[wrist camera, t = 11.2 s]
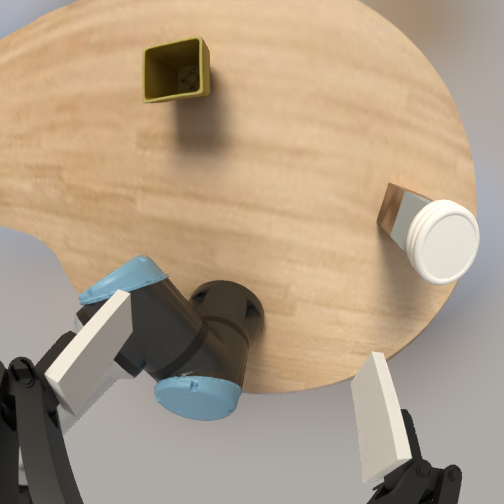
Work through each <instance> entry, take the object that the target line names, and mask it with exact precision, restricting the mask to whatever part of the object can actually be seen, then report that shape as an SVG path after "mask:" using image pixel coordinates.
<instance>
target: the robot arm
mask: <svg viewBox="0 0 504 504" xmlns="http://www.w3.org/2000/svg"><path fill="white" fill-rule="evenodd" d="M168 277H169V276H168V275H167V274H164V273H163V272H162V270H161V269H160V268H159V267H158V266H157V265H156V264H155V262H154V261H153V260H152V259H151V258H149V257H148V256H144V255H140V256H136V257H134V258H133V259H131V260H130V261H128V262H126V263H125V264H123V265H122V266H120V267H119V268H117V269H116V270H114V271H113V272H111V273H110V274H108V275H107V276H106V277H104V278H103V279H101V280H100V281H98V282H97V283H96V284H94V285H93V286H91V287H90V288H89V289H87V290H86V291H84V292H83V293H81V294H80V295H79V300H80V303H81V305H84V306H83V307H82V308H81V309H80V310H79V311H78V312H77V313H76V314H75V319H74V325H75V327H74V332H72V331H69V332H67V333H65V334H64V335H62V336H61V337H60V338H59V339H58V340H57V341H56V343H55V344H54V345H53V346H52V347H51V349H49V350H48V352H47V353H46V354H45V355H44V356H43V358H42V359H41V360H40V361H39V362H38V363H37V364H36V366H35V367H34V365H33V363H32V362H31V360H30V359H28V358H26V357H18V358H15V359H14V360H12V361H11V363H10V364H9V367H8V369H6V368H5V367H4V365H3V363H2V362H1V361H0V504H84V503H83V501H82V498H81V496H80V493H79V490H78V487H77V484H76V482H75V479H74V475H73V473H72V469H71V466H70V463H69V459H68V455H67V451H66V447H65V444H64V439H63V435H64V434H65V433H66V432H67V431H68V430H69V429H70V428H71V427H72V426H73V425H74V424H75V423H76V422H77V421H78V420H79V419H80V418H81V417H82V416H83V414H85V412H86V411H87V410H88V409H89V408H90V407H91V406H92V405H93V404H94V403H95V402H96V401H97V400H98V399H99V398H100V397H101V396H102V395H103V394H104V393H105V392H106V391H107V390H108V389H109V388H110V387H111V386H112V385H113V383H114V382H115V381H116V380H117V379H134V378H135V377H136V376H137V375H138V374H139V373H140V372H141V371H142V370H145V371H146V372H147V373H148V374H150V376H152V377H153V378H154V379H155V380H156V381H157V384H156V385H155V393H154V394H155V396H156V399H157V401H158V402H159V403H160V404H161V405H162V406H163V407H164V408H166V409H167V410H169V411H171V412H173V413H175V414H177V415H180V416H182V417H185V418H190V419H195V420H204V421H210V420H218V419H222V418H225V417H227V416H229V415H230V414H231V413H232V412H233V411H234V410H235V408H236V406H237V402H238V399H239V396H240V395H241V393H242V385H243V379H244V373H245V368H246V362H247V356H248V350H249V348H250V347H251V345H252V344H253V343H254V341H255V340H256V339H257V337H258V336H259V334H260V332H261V330H262V327H263V320H264V312H263V308H262V305H261V303H260V301H259V300H258V298H257V297H256V296H255V295H254V294H253V293H252V292H251V291H250V290H248V289H247V288H245V287H244V286H242V285H240V284H237V283H234V282H230V281H223V280H218V281H211V282H207V283H205V284H203V285H201V286H199V287H198V288H197V289H196V290H195V291H194V292H193V294H192V295H191V297H190V299H189V301H187V300H186V299H185V298H184V296H183V295H182V294H181V293H180V292H179V290H178V289H177V288H176V287H175V286H174V284H173V283H172V282H171V281H170V280H169V278H168ZM350 384H351V390H352V395H353V402H354V408H355V415H356V422H357V430H358V438H359V446H360V455H361V464H362V476H363V482H373V481H377V480H379V479H381V478H382V477H384V482H383V483H381V484H379V485H377V486H376V487H374V488H373V490H376V489H377V491H376V492H375V494H374V495H373V496H372V498H371V499H370V500H369V502H368V503H367V504H457V503H458V498H459V493H460V487H461V481H462V472H461V470H460V468H459V467H458V466H456V465H450V466H448V467H446V468H445V469H439V468H433V467H432V466H431V464H430V463H429V462H428V461H426V460H424V459H422V456H421V452H420V447H419V443H418V439H417V435H416V434H415V432H416V431H415V428H414V427H413V426H414V424H413V420H412V417H411V415H410V414H409V413H408V411H407V410H406V409H400V406H399V403H398V399H397V396H396V392H395V389H394V385H393V382H392V379H391V376H390V373H389V369H388V367H387V363H386V360H385V357H384V354H383V353H379V352H371V353H370V355H369V356H368V358H367V360H366V361H365V363H364V364H363V366H362V367H361V369H360V370H359V372H358V373H357V375H356V376H355V377H354V379H353V380H352V382H351V383H350ZM432 499H433V500H432Z"/></svg>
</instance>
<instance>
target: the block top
mask: <svg viewBox="0 0 504 504" xmlns="http://www.w3.org/2000/svg"><path fill="white" fill-rule="evenodd" d="M431 202H433V201H430V200H428V199H425V198H423V197H420V196H418V195H415V194H412V193H410V192H407V191H405V192H404V196H403V199H402V202H401V205H400V208H399V211H398V214H397V217H396V220H395V223H394V226H393V229H392V232H391V235H390V237H391V238H392V239H393V240H394V241H395V242H396V244H397V245H398V246H399V247H400V248H401V249H402V250H403V252H404V253H405V254H406V255H407V250H406V240H407V234H408V231H409V228H410V225H411V223H412V221H413V219H414V218H415V216H416V215H417V214H418V213H419V211H420V210H421V209H422V208H424V207H425V206H426V205H428V204H429V203H431ZM407 256H408V255H407Z"/></svg>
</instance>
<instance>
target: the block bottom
mask: <svg viewBox="0 0 504 504" xmlns="http://www.w3.org/2000/svg"><path fill="white" fill-rule="evenodd" d="M405 191H407V192H410V193H412V194H415V195H418V196H420V197H423V198H425V199H428V200H430V201H433V200H431V199H429V198H427V197H425V196H423V195H421V194H418V193H416V192H413V191H411V190H408V189H406V188H403V187H400V186H397V185H395V184H392V183H388V187H387V190H386V193H385V197H384V200H383V203H382V206H381V209H380V212H379V216H378V219H377V223H378V224H379V225H380V226H381V227H382V228H383V229H384V230H385V231H386V232H387V234H388V235H389V236H390V235H391V232H392V229H393V226H394V223H395V220H396V217H397V214H398V211H399V208H400V205H401V202H402V199H403V196H404V192H405ZM433 202H434V201H433Z"/></svg>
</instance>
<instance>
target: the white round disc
mask: <svg viewBox="0 0 504 504" xmlns="http://www.w3.org/2000/svg"><path fill="white" fill-rule="evenodd" d="M478 246H479V228H478V225H477V222H476V219H475V218H474V216H473V215H472V214H471V212H470V211H468V210H467V209H466V208H464V207H462V206H460V205H458V204H457V203H455V202H453V201H450V200H437V201H434V202H431V203H429V204H428V205H426V206H425V207H424V208H422V209H421V210H420V211H419V213H418V214H417V215H416V216H415V218H414V219H413V221H412V223H411V225H410V228H409V231H408V234H407V240H406V250H407V255H408V259H409V261H410V263H411V265H412V266H413V268H414V269H415V270H416V272H417V273H418V274H419V275H420V277H421V278H422V279H424V280H425V281H426V282H428V283H430V284H434V285H446V284H449V283H452V282H454V281H456V280H457V279H459V278H460V277H461V276H462V275H463V274H464V273H465V272H466V271H467V270H468V269H469V267H470V266H471V264H472V262H473V261H474V259H475V256H476V254H477V251H478Z"/></svg>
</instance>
